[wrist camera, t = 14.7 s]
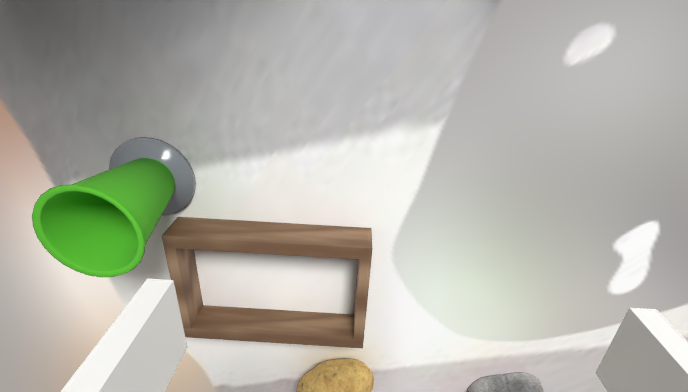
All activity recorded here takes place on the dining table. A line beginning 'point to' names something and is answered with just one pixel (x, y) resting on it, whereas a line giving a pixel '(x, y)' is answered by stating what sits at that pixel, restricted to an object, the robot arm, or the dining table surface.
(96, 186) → the cup
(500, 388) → the figurine
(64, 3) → the dining table surface
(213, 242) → the pocket frame
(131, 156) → the coaster
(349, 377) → the potato
